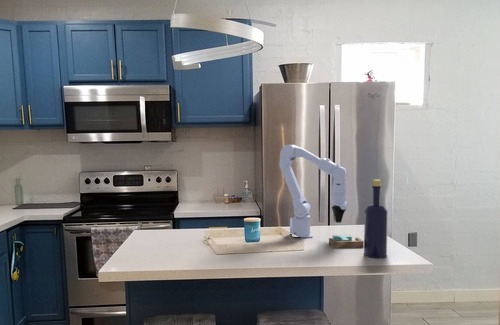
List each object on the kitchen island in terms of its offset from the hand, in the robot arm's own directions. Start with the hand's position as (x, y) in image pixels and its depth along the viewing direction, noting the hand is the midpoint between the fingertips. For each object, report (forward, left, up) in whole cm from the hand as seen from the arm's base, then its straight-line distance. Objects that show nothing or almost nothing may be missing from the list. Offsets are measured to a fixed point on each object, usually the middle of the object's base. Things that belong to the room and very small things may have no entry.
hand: (338, 222), depth 170 cm
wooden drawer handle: (0, -10, -8) cm, 13 cm away
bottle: (+7, -24, -8) cm, 26 cm away
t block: (0, -8, -8) cm, 11 cm away
